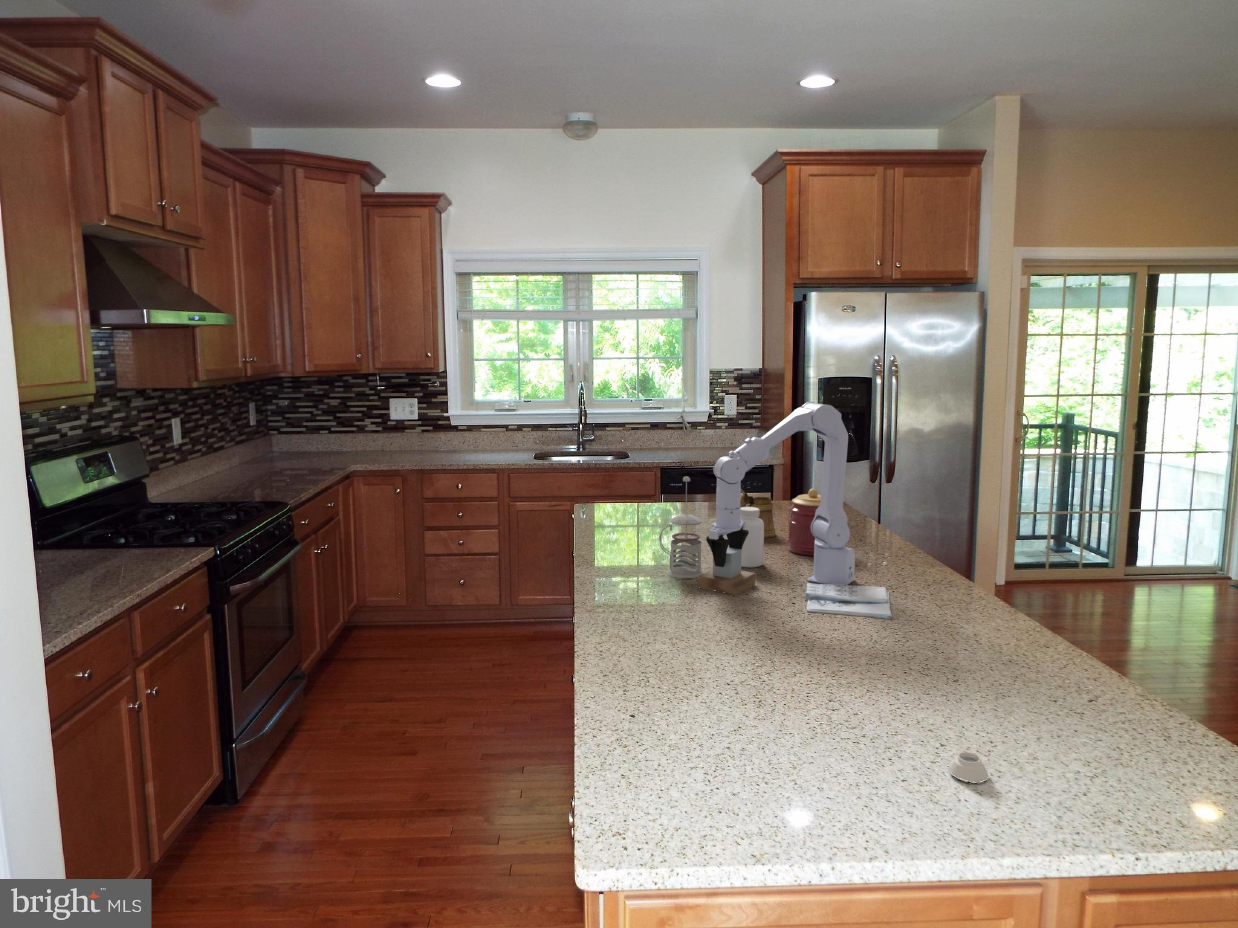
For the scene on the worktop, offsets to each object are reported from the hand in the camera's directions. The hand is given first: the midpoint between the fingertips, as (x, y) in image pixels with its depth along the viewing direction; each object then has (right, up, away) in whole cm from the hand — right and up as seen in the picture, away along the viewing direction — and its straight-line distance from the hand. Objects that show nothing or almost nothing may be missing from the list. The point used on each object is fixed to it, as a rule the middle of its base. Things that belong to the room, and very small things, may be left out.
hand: (727, 562), depth 206 cm
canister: (+28, -1, +35) cm, 45 cm away
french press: (-10, -4, +13) cm, 17 cm away
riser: (0, -6, +1) cm, 6 cm away
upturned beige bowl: (+22, -20, -87) cm, 92 cm away
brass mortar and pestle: (+14, +2, +54) cm, 56 cm away
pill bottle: (+8, -3, +21) cm, 22 cm away
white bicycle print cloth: (+26, -8, -11) cm, 29 cm away
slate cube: (0, -3, 0) cm, 3 cm away
